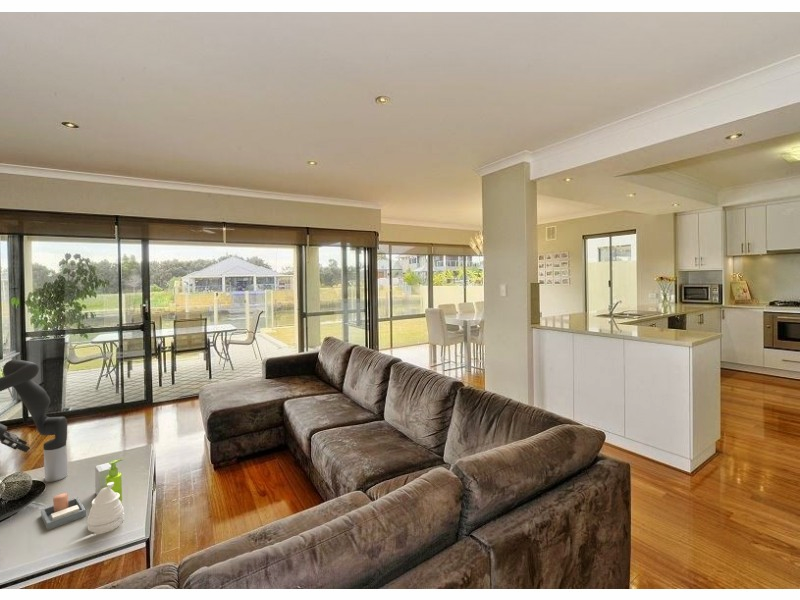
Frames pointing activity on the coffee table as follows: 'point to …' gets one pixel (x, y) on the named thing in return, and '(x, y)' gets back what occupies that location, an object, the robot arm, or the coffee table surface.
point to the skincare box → (101, 476)
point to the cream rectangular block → (64, 512)
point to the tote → (65, 519)
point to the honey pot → (105, 511)
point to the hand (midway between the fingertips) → (26, 447)
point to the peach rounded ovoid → (60, 502)
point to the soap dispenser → (115, 478)
